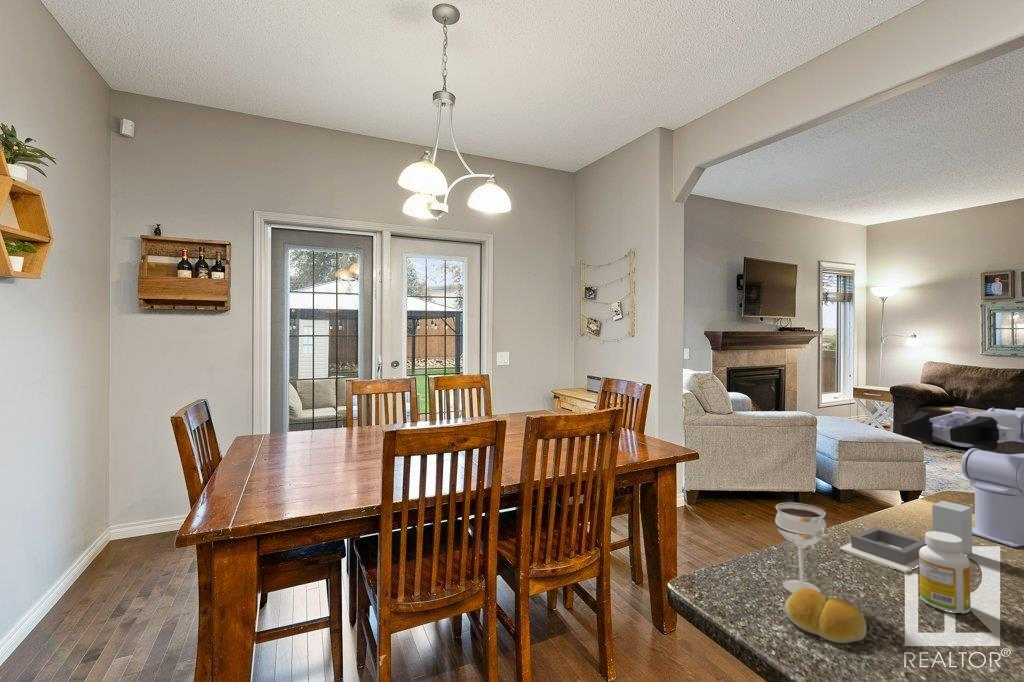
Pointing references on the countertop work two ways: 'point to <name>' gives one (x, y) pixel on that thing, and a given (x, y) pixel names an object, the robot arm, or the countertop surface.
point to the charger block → (954, 522)
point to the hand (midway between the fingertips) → (927, 432)
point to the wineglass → (800, 533)
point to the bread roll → (825, 616)
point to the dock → (885, 548)
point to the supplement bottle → (944, 573)
